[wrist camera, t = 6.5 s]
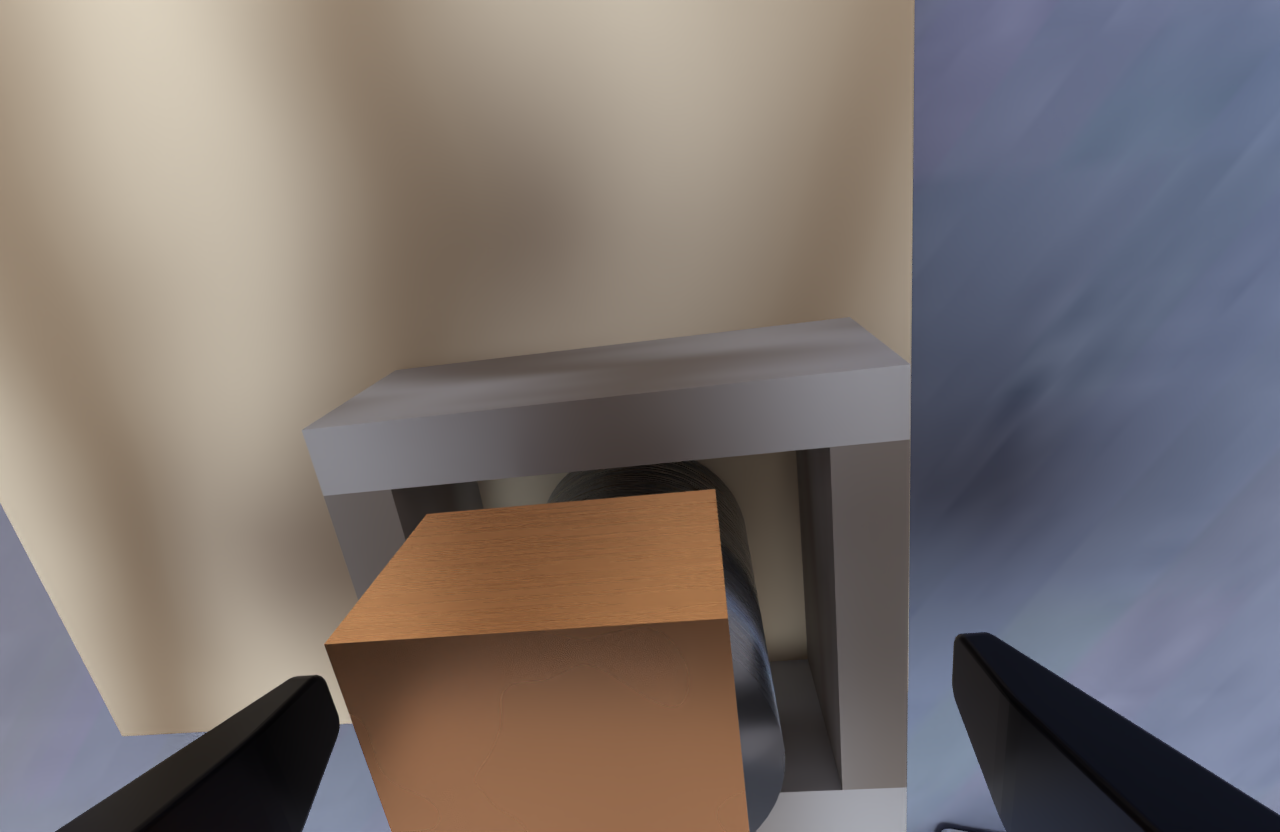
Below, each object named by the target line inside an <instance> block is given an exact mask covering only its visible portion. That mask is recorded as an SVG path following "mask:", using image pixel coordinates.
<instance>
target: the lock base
mask: <svg viewBox="0 0 1280 832" xmlns="http://www.w3.org/2000/svg"><path fill="white" fill-rule="evenodd" d="M914 6H915V0H0V503H1V505H2V507H3V509H4V511H5V513H6V515H7V517H8V518H9V520H10V522H11V524H12V526H13V528H14V530H15V532H16V534H17V536H18V538H19V539H20V541H21V543H22V545H23V547H24V549H25V551H26V553H27V555H28V557H29V559H30V561H31V562H32V564H33V566H34V568H35V570H36V572H37V574H38V576H39V578H40V580H41V582H42V583H43V585H44V587H45V589H46V591H47V593H48V595H49V597H50V599H51V601H52V603H53V604H54V606H55V608H56V610H57V612H58V614H59V616H60V618H61V620H62V622H63V624H64V626H65V627H66V629H67V631H68V633H69V635H70V637H71V639H72V641H73V643H74V645H75V647H76V648H77V650H78V652H79V654H80V656H81V658H82V660H83V662H84V664H85V666H86V668H87V670H88V671H89V673H90V675H91V677H92V679H93V681H94V683H95V685H96V687H97V689H98V691H99V692H100V694H101V696H102V698H103V700H104V702H105V704H106V706H107V708H108V710H109V712H110V713H111V715H112V717H113V719H114V721H115V723H116V725H117V727H118V729H119V731H120V733H121V735H122V736H137V735H154V734H172V733H190V732H208V731H210V730H211V729H213V728H214V727H216V726H218V725H219V724H221V723H222V722H224V721H225V720H227V719H228V718H230V717H231V716H233V715H234V714H236V713H237V712H239V711H241V710H242V709H244V708H245V707H247V706H248V705H250V704H251V703H253V702H254V701H256V700H257V699H259V698H260V697H262V696H263V695H265V694H267V693H268V692H270V691H271V690H273V689H274V688H276V687H277V686H279V685H280V684H282V683H283V682H285V681H286V680H288V679H290V678H292V677H295V676H305V675H319V676H322V677H323V678H324V679H325V681H326V683H327V685H328V688H329V691H330V693H331V696H332V699H333V702H334V704H335V707H336V710H337V712H338V715H339V722H340V724H350V723H352V721H351V718H350V715H349V712H348V709H347V707H346V704H345V701H344V698H343V696H342V693H341V690H340V687H339V685H338V682H337V679H336V676H335V674H334V671H333V668H332V665H331V662H330V660H329V657H328V654H327V651H326V649H325V646H324V644H325V642H326V641H327V640H328V639H329V637H330V636H331V635H332V634H333V632H334V631H335V630H336V628H337V627H338V626H339V625H340V623H341V622H342V621H343V620H344V618H345V617H346V616H347V615H348V613H349V612H350V611H351V609H352V608H353V607H354V606H355V604H356V603H357V602H358V601H359V599H360V598H361V597H362V595H363V594H364V593H365V592H366V590H367V589H368V588H369V587H370V585H371V584H372V583H373V582H374V580H375V579H376V578H377V576H378V575H379V574H380V573H381V571H382V570H383V569H384V568H385V566H386V565H387V564H388V563H389V561H390V560H391V559H392V557H393V556H394V555H395V554H396V552H397V551H398V550H399V549H400V547H401V546H402V545H403V544H404V542H405V541H406V540H407V538H408V537H409V536H410V535H411V533H412V532H413V531H414V530H415V528H416V527H417V526H418V525H419V523H420V522H421V521H422V519H423V518H424V517H425V516H426V514H432V513H444V512H455V511H467V510H478V509H490V508H501V507H513V506H524V505H536V504H547V502H548V500H549V498H550V496H551V494H552V492H553V491H554V489H555V488H556V486H557V485H558V483H559V482H560V481H561V480H562V479H563V478H564V477H565V476H566V475H567V474H568V473H569V472H577V471H587V470H598V469H608V468H618V467H629V466H639V465H650V464H660V463H670V462H681V461H691V460H695V461H697V462H699V463H700V464H702V465H703V466H705V467H707V468H708V469H709V470H711V471H712V472H713V473H714V474H715V475H716V476H718V477H719V478H720V479H721V480H722V482H723V483H724V484H725V485H726V486H727V487H728V488H729V490H730V491H731V493H732V494H733V496H734V497H735V499H736V501H737V503H738V505H739V507H740V509H741V512H742V515H743V518H744V521H745V527H746V532H747V538H748V544H749V549H750V555H751V561H752V567H753V572H754V578H755V584H756V589H757V595H758V601H759V606H760V612H761V618H762V623H763V629H764V635H765V640H766V646H767V652H768V657H769V663H770V669H771V674H772V680H773V686H774V692H775V697H776V703H777V709H778V714H779V720H780V726H781V731H782V737H783V743H784V750H785V774H784V779H783V784H782V788H781V791H780V794H779V796H778V799H777V801H776V804H775V805H774V807H773V809H772V810H771V812H770V814H769V816H768V817H767V818H766V820H765V821H764V822H763V823H762V825H761V826H760V827H759V828H758V829H757V831H755V832H906V813H907V703H908V642H909V536H910V430H911V324H912V218H913V112H914Z"/></svg>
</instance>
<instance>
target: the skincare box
mask: <svg viewBox="0 0 1280 832" xmlns="http://www.w3.org/2000/svg"><path fill="white" fill-rule="evenodd" d="M941 832H966V831H961V830H955V829H944V830H942V831H941Z"/></svg>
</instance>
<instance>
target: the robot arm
mask: <svg viewBox="0 0 1280 832" xmlns="http://www.w3.org/2000/svg"><path fill="white" fill-rule="evenodd" d="M952 687H953V693H954V697H955V701H956V704H957V707H958V709H959V712H960V714H961V717H962V720H963V722H964V725H965V728H966V730H967V733H968V736H969V738H970V741H971V744H972V746H973V749H974V752H975V754H976V757H977V759H978V762H979V765H980V767H981V770H982V773H983V775H984V778H985V781H986V783H987V786H988V789H989V791H990V794H991V797H992V799H993V802H994V804H995V807H996V809H997V812H998V814H999V817H1000V819H1001V821H1002V823H1003V825H1004V828H1005V830H1006V832H1280V815H1279V814H1277V813H1276V812H1274V811H1272V810H1271V809H1269V808H1268V807H1266V806H1264V805H1263V804H1261V803H1260V802H1258V801H1257V800H1255V799H1253V798H1252V797H1250V796H1249V795H1247V794H1245V793H1244V792H1242V791H1241V790H1239V789H1237V788H1236V787H1234V786H1233V785H1231V784H1230V783H1228V782H1226V781H1225V780H1223V779H1222V778H1220V777H1218V776H1217V775H1215V774H1214V773H1212V772H1210V771H1209V770H1207V769H1206V768H1204V767H1202V766H1201V765H1199V764H1198V763H1196V762H1195V761H1193V760H1191V759H1190V758H1188V757H1187V756H1185V755H1183V754H1182V753H1180V752H1179V751H1177V750H1175V749H1174V748H1172V747H1171V746H1169V745H1167V744H1166V743H1164V742H1163V741H1161V740H1160V739H1158V738H1156V737H1155V736H1153V735H1152V734H1150V733H1148V732H1147V731H1145V730H1144V729H1142V728H1140V727H1139V726H1137V725H1136V724H1134V723H1132V722H1131V721H1129V720H1128V719H1126V718H1125V717H1123V716H1121V715H1120V714H1118V713H1117V712H1115V711H1113V710H1112V709H1110V708H1109V707H1107V706H1105V705H1104V704H1102V703H1101V702H1099V701H1098V700H1096V699H1094V698H1093V697H1091V696H1090V695H1088V694H1086V693H1085V692H1083V691H1082V690H1080V689H1078V688H1077V687H1075V686H1074V685H1072V684H1070V683H1069V682H1067V681H1066V680H1064V679H1063V678H1061V677H1059V676H1058V675H1056V674H1055V673H1053V672H1051V671H1050V670H1048V669H1047V668H1045V667H1043V666H1042V665H1040V664H1039V663H1037V662H1035V661H1034V660H1032V659H1031V658H1029V657H1028V656H1026V655H1024V654H1023V653H1021V652H1020V651H1018V650H1016V649H1015V648H1013V647H1012V646H1010V645H1008V644H1007V643H1005V642H1004V641H1002V640H1000V639H999V638H997V637H996V636H994V635H992V634H990V633H986V632H980V633H964V634H959V635H958V636H956V638H955V641H954V650H953V674H952ZM339 726H340V722H339V715H338V712H337V710H336V707H335V704H334V702H333V699H332V696H331V693H330V691H329V688H328V685H327V683H326V681H325V679H324V678H323V677H322V676H319V675H305V676H295V677H292V678H290V679H288V680H286V681H285V682H283V683H282V684H280V685H279V686H277V687H276V688H274V689H273V690H271V691H270V692H268V693H267V694H265V695H263V696H262V697H260V698H259V699H257V700H256V701H254V702H253V703H251V704H250V705H248V706H247V707H245V708H244V709H242V710H241V711H239V712H237V713H236V714H234V715H233V716H231V717H230V718H228V719H227V720H225V721H224V722H222V723H221V724H219V725H218V726H216V727H214V728H213V729H211V730H210V731H208V732H207V733H205V734H204V735H202V736H201V737H199V738H198V739H196V740H195V741H193V742H192V743H190V744H188V745H187V746H185V747H184V748H182V749H181V750H179V751H178V752H176V753H175V754H173V755H172V756H170V757H169V758H167V759H165V760H164V761H162V762H161V763H159V764H158V765H156V766H155V767H153V768H152V769H150V770H149V771H147V772H146V773H144V774H142V775H141V776H139V777H138V778H136V779H135V780H133V781H132V782H130V783H129V784H127V785H126V786H124V787H123V788H121V789H120V790H118V791H116V792H115V793H113V794H112V795H110V796H109V797H107V798H106V799H104V800H103V801H101V802H100V803H98V804H97V805H95V806H93V807H92V808H90V809H89V810H87V811H86V812H84V813H83V814H81V815H80V816H78V817H77V818H75V819H74V820H72V821H71V822H69V823H67V824H66V825H64V826H63V827H61V828H60V829H58V830H57V831H55V832H302V830H303V828H304V825H305V823H306V820H307V817H308V815H309V812H310V809H311V807H312V804H313V801H314V798H315V796H316V793H317V790H318V788H319V785H320V782H321V780H322V777H323V774H324V772H325V769H326V766H327V763H328V761H329V758H330V755H331V753H332V750H333V747H334V745H335V742H336V739H337V736H338V733H339Z"/></svg>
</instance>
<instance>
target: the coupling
mask: <svg viewBox="0 0 1280 832" xmlns="http://www.w3.org/2000/svg"><path fill="white" fill-rule="evenodd" d="M324 646H325V649H326V651H327V654H328V657H329V660H330V662H331V665H332V668H333V671H334V674H335V676H336V679H337V682H338V685H339V687H340V690H341V693H342V696H343V698H344V701H345V704H346V707H347V709H348V712H349V715H350V718H351V721H352V723H353V726H354V729H355V732H356V734H357V737H358V740H359V743H360V745H361V748H362V751H363V754H364V757H365V759H366V762H367V765H368V768H369V770H370V773H371V776H372V779H373V781H374V784H375V787H376V790H377V792H378V795H379V798H380V801H381V804H382V806H383V809H384V812H385V815H386V817H387V820H388V823H389V826H390V828H391V831H392V832H755V831H757V829H758V828H759V827H760V826H761V825H762V823H763V822H764V821H765V820H766V818H767V817H768V816H769V814H770V812H771V810H772V809H773V807H774V805H775V804H776V801H777V799H778V796H779V794H780V791H781V788H782V784H783V779H784V774H785V750H784V743H783V737H782V731H781V726H780V720H779V714H778V709H777V703H776V697H775V692H774V686H773V680H772V674H771V669H770V663H769V657H768V652H767V646H766V640H765V635H764V629H763V623H762V618H761V612H760V606H759V601H758V595H757V589H756V584H755V578H754V572H753V567H752V561H751V555H750V549H749V544H748V538H747V532H746V527H745V521H744V518H743V515H742V512H741V509H740V507H739V505H738V503H737V501H736V499H735V497H734V496H733V494H732V493H731V491H730V490H729V488H728V487H727V486H726V485H725V484H724V483H723V482H722V480H721V479H720V478H719V477H718V476H716V475H715V474H714V473H713V472H712V471H711V470H709V469H708V468H707V467H705V466H703V465H702V464H700V463H699V462H697V461H695V460H691V461H681V462H670V463H660V464H650V465H639V466H629V467H618V468H608V469H598V470H587V471H577V472H569V473H568V474H567V475H566V476H565V477H564V478H563V479H562V480H561V481H560V482H559V483H558V485H557V486H556V488H555V489H554V491H553V492H552V494H551V496H550V498H549V500H548V502H547V504H536V505H524V506H513V507H501V508H490V509H478V510H467V511H455V512H444V513H432V514H426V516H425V517H424V518H423V519H422V521H421V522H420V523H419V525H418V526H417V527H416V528H415V530H414V531H413V532H412V533H411V535H410V536H409V537H408V538H407V540H406V541H405V542H404V544H403V545H402V546H401V547H400V549H399V550H398V551H397V552H396V554H395V555H394V556H393V557H392V559H391V560H390V561H389V563H388V564H387V565H386V566H385V568H384V569H383V570H382V571H381V573H380V574H379V575H378V576H377V578H376V579H375V580H374V582H373V583H372V584H371V585H370V587H369V588H368V589H367V590H366V592H365V593H364V594H363V595H362V597H361V598H360V599H359V601H358V602H357V603H356V604H355V606H354V607H353V608H352V609H351V611H350V612H349V613H348V615H347V616H346V617H345V618H344V620H343V621H342V622H341V623H340V625H339V626H338V627H337V628H336V630H335V631H334V632H333V634H332V635H331V636H330V637H329V639H328V640H327V641H326V642H325V644H324Z"/></svg>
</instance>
